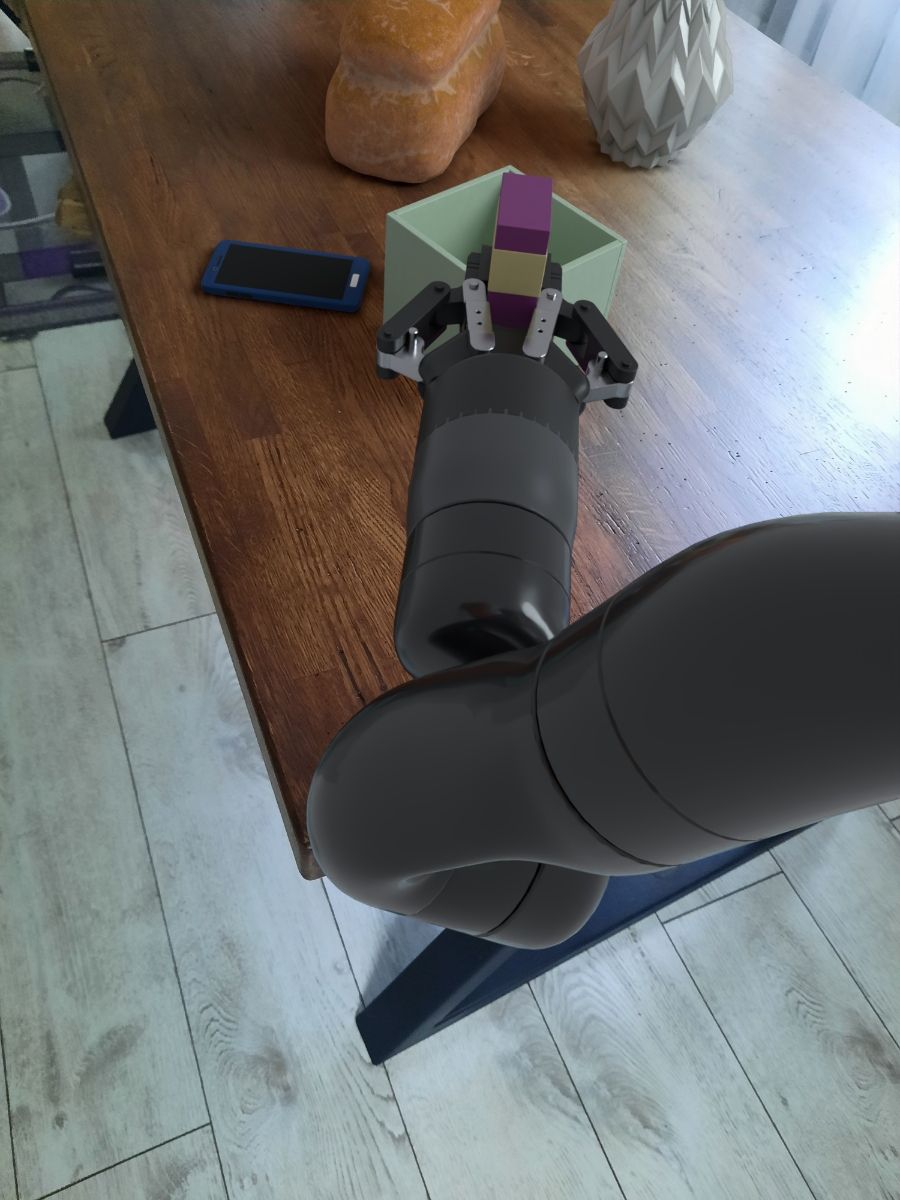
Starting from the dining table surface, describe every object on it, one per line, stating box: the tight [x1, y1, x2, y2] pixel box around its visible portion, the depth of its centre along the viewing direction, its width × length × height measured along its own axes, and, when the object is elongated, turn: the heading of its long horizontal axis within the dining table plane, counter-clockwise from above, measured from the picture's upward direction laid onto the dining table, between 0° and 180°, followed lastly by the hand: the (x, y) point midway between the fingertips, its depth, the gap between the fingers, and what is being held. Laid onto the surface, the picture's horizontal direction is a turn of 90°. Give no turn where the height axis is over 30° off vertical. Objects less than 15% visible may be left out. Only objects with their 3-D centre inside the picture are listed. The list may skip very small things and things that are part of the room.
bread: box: [324, 0, 507, 184], centre depth 95 cm, size 14×26×15 cm, turn 161°
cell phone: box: [200, 239, 371, 313], centre depth 82 cm, size 7×14×1 cm, turn 84°
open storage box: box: [382, 164, 628, 367], centre depth 75 cm, size 13×13×11 cm
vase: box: [575, 0, 735, 170], centre depth 94 cm, size 16×16×18 cm
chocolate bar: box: [487, 172, 554, 328], centre depth 51 cm, size 5×3×12 cm, turn 175°
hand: (513, 263), depth 52 cm, fingers closed on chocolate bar, 2 cm apart
